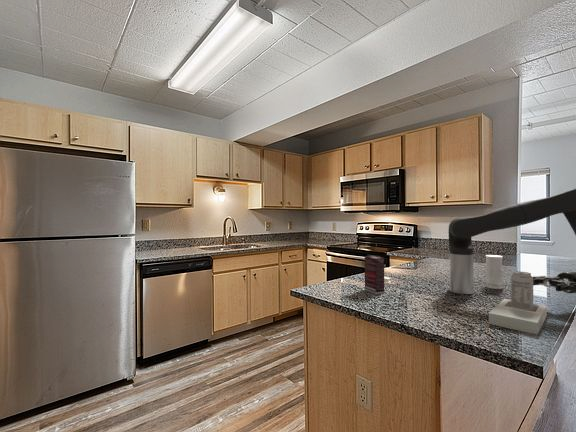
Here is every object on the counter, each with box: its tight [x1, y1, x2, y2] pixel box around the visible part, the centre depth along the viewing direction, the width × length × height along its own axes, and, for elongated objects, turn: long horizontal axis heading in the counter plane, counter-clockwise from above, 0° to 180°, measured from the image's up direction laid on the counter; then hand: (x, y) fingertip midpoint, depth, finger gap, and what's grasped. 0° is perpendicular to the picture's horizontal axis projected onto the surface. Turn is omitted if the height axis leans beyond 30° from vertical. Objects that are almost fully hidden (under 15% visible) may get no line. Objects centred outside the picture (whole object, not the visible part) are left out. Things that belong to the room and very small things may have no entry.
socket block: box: [488, 298, 548, 336], centre depth 98 cm, size 12×22×4 cm, turn 133°
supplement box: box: [364, 255, 385, 295], centre depth 134 cm, size 9×5×16 cm, turn 22°
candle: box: [484, 254, 504, 290], centre depth 140 cm, size 7×7×15 cm
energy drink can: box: [510, 270, 534, 311], centre depth 101 cm, size 6×6×15 cm
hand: (543, 285), depth 104 cm, fingers open, 8 cm apart
